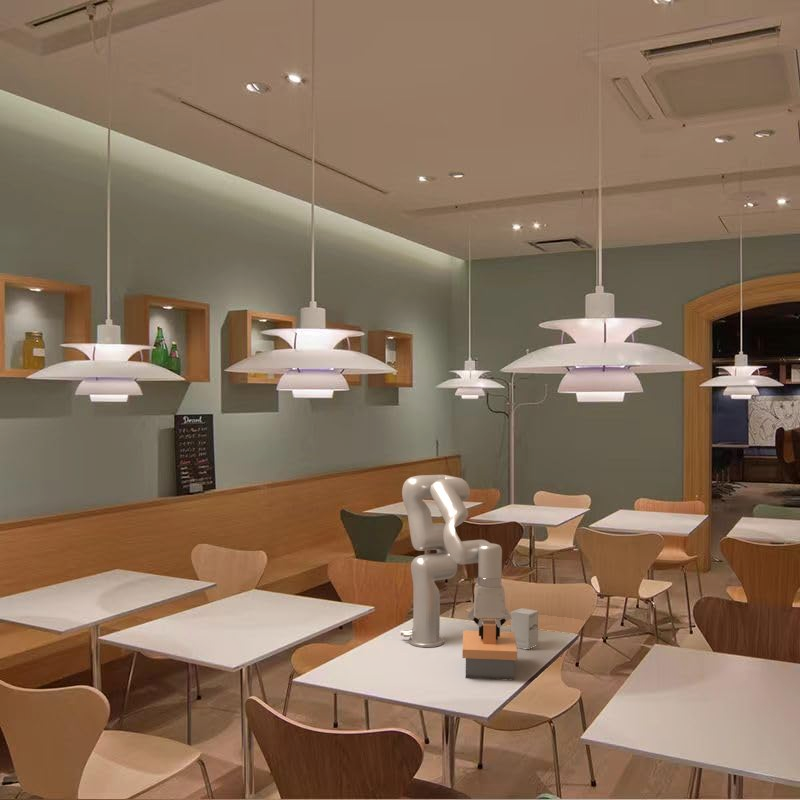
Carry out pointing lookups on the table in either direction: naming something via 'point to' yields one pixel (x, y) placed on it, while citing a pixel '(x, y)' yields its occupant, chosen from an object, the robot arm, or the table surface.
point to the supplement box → (525, 627)
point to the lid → (489, 643)
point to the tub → (489, 669)
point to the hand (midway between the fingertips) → (489, 638)
